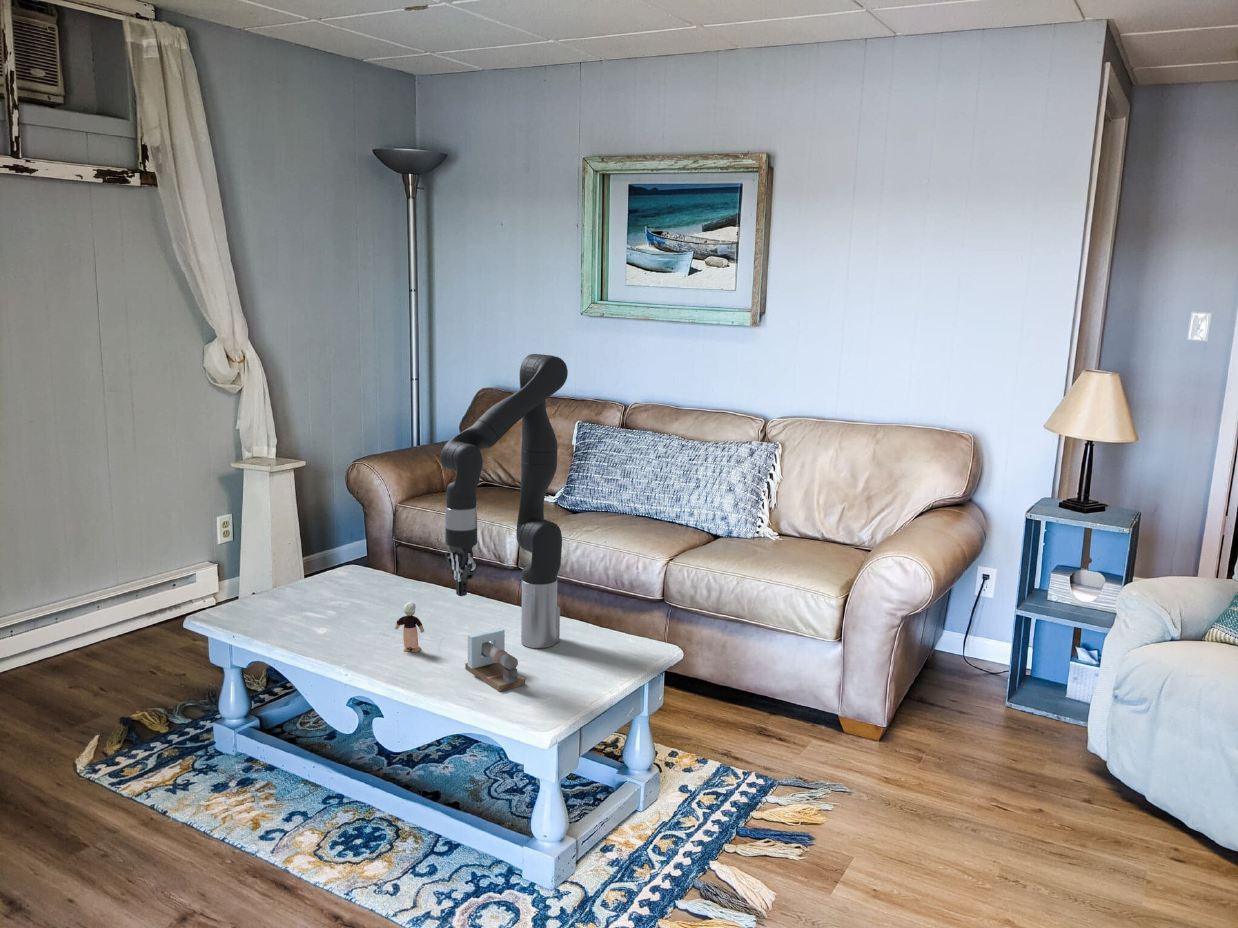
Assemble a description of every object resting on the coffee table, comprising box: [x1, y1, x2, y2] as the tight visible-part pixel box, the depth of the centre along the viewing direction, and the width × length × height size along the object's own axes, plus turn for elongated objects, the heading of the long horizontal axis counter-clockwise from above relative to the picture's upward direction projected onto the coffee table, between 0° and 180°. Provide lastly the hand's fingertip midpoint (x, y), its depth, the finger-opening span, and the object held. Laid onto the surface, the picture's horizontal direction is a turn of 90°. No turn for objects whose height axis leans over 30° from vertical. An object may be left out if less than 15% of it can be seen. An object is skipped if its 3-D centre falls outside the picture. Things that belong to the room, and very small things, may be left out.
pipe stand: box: [464, 641, 526, 693], centre depth 225 cm, size 7×16×8 cm, turn 38°
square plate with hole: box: [467, 627, 506, 668], centre depth 227 cm, size 9×2×8 cm, turn 128°
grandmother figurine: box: [394, 601, 425, 653], centre depth 240 cm, size 8×4×13 cm, turn 92°
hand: (461, 594), depth 228 cm, fingers closed
